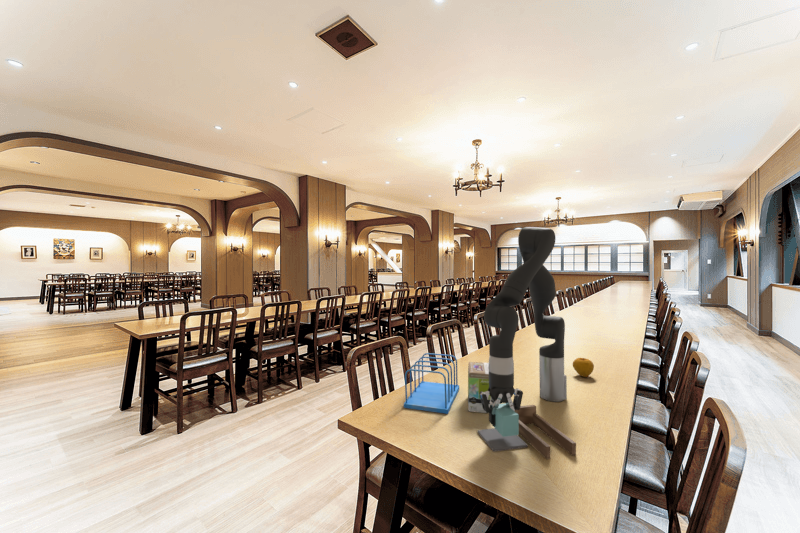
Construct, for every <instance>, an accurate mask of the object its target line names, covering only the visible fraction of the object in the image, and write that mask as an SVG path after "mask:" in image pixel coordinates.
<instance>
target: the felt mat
mask: <svg viewBox="0 0 800 533" xmlns="http://www.w3.org/2000/svg"><path fill="white" fill-rule="evenodd" d="M477 434H478V435H479V436H480V437H481V439H482V440H483V441H484V442H485V443H486V445H487V446H488V447H489V448H490V450H491V451H492V452H501V451H509V450H515V449H516V450H517V449H523V448H524V449H525V448H528V443H527V442H525V441H524V439H522V438H521V437H520V435H514V436H505V437H503V436H502V435H501V434H500V433H499V432H498V431H497V430H496V429H495V428H494V427H493V428H484V429H477Z"/></svg>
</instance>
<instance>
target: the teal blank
mask: <svg viewBox="0 0 800 533" xmlns="http://www.w3.org/2000/svg"><path fill="white" fill-rule="evenodd" d="M495 415H496V426H492V427H493V428H495V429H496V430H497V431H498V432H499V433H500V434H501V435H502V436H503V437H505V436H514V435H518V436H520V434H519V415H518V414H517V413H516V412H515V411H514V410H512V409H511V408H509V406H508V405H506V403H501V404H499V406H498V408H497V409H496V412H495Z"/></svg>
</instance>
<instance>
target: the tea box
mask: <svg viewBox="0 0 800 533" xmlns="http://www.w3.org/2000/svg"><path fill="white" fill-rule="evenodd" d="M488 366H489V362H482V361H479V362H478V361H468V370H467V373H468V374H467V397H468V398H467V400H468V401H467V403H468V412H473V413H482V414H483V413H484V414H488V413H487V412H486V411H485V410H484V409H483V407H482V403H481V398H480V394H479V393H480V392H481V391H482V392H486V391H488V389H489V368H488ZM490 399H491V396H490V395H489V396H488V399H487V400H488V405H490ZM494 402H495V401H494Z"/></svg>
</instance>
